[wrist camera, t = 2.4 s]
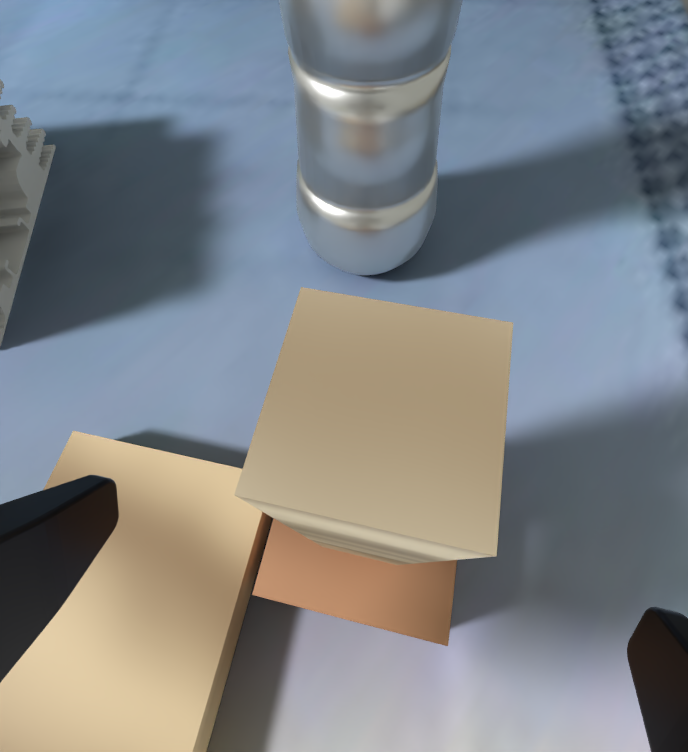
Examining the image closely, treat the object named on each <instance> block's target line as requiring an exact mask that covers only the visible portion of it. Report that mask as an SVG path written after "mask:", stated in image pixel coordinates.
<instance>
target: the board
mask: <svg viewBox="0 0 688 752" xmlns="http://www.w3.org/2000/svg"><path fill="white" fill-rule="evenodd" d="M241 472H242V469H241V468H236V467H232V466H228V465H223V464H219V463H214V462H210V461H205V460H201V459H196V458H192V457H188V456H183V455H179V454H174V453H170V452H165V451H161V450H156V449H152V448H148V447H143V446H139V445H134V444H130V443H125V442H121V441H116V440H112V439H108V438H103V437H99V436H94V435H90V434H85V433H81V432H76V431H73V432H72V434H71V436H70V438H69V440H68V442H67V444H66V446H65V448H64V450H63V452H62V454H61V456H60V458H59V460H58V462H57V464H56V466H55V468H54V470H53V472H52V474H51V476H50V478H49V480H48V482H47V484H46V486H45V488H44V490H46V489H48V488H51V487H54V486H57V485H60V484H63V483H66V482H69V481H72V480H75V479H78V478H81V477H84V476H87V475H98V476H103V477H107V478H111V479H112V480H114V481H115V483H116V486H117V498H118V509H119V518H118V522H117V525H116V527H115V529H114V531H113V532H112V534H111V535H110V537H109V538H108V540H107V541H106V543H105V544H104V546H103V547H102V549H101V550H100V552H99V553H98V555H97V556H96V557H95V559H94V560H93V562H92V563H91V565H90V566H89V568H88V569H87V571H86V572H85V574H84V575H83V577H82V578H81V580H80V581H79V582H78V584H77V585H76V587H75V588H74V590H73V591H72V593H71V594H70V596H69V597H68V598H67V600H66V601H65V603H64V604H63V605H62V607H61V608H60V610H59V611H58V612H57V613H56V615H55V616H54V617H53V619H52V620H51V621H50V622H49V624H48V625H47V626H46V627H45V629H44V630H43V631H42V632H41V634H40V635H39V636H38V637H37V638H36V640H35V641H34V642H33V643H32V645H31V646H30V647H29V648H28V649H27V651H26V652H25V653H24V654H23V656H22V657H21V658H20V659H19V661H18V662H17V663H16V664H15V665H14V667H13V668H12V669H11V670H10V672H9V673H8V674H7V675H6V676H5V678H4V679H3V680H2V681H1V683H0V752H206V751H207V748H208V744H209V741H210V737H211V734H212V730H213V727H214V723H215V719H216V716H217V712H218V709H219V705H220V702H221V698H222V694H223V691H224V687H225V684H226V680H227V677H228V673H229V670H230V666H231V662H232V659H233V655H234V652H235V648H236V645H237V641H238V637H239V634H240V630H241V627H242V623H243V620H244V616H245V612H246V609H247V605H248V602H249V598H250V595H251V591H252V588H253V584H254V580H255V577H256V573H257V570H258V566H259V563H260V559H261V555H262V552H263V548H264V545H265V541H266V538H267V534H268V531H269V527H270V523H271V520H272V517H271V516H269V515H267V514H266V513H264V512H262V511H261V510H259V509H257V508H255V507H254V506H252V505H250V504H249V503H247V502H245V501H243V500H242V499H240V498H238V497H237V496H235V495H234V494H235V491H236V488H237V485H238V482H239V478H240V475H241Z"/></svg>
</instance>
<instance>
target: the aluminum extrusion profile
mask: <svg viewBox="0 0 688 752" xmlns="http://www.w3.org/2000/svg"><path fill="white" fill-rule="evenodd" d="M2 88H4V84H3V82H2V81H1V80H0V94H2ZM0 99H1V97H0ZM14 114H16V109H15V107H14V106H13V105H5V106H0V346H1V343H2V339H3V336H4V332H5V328H6V325H7V321H8V318H9V314H10V310H11V307H12V303H13V300H14V296H15V292H16V289H17V285H18V282H19V278H20V274H21V271H22V267H23V264H24V260H25V256H26V253H27V249H28V246H29V242H30V238H31V235H32V231H33V228H34V224H35V220H36V217H37V213H38V210H39V206H40V202H41V199H42V195H43V192H44V188H45V184H46V181H47V177H48V174H49V170H50V167H51V163H52V159H53V156H54V152H55V149H56V146H55V145H45V146H43V142H44V141H45V140H44V137H45V136H46V133H45V131H44V130H43V129H33V130H30V126H31V125H32V122H31V120H30V119H29V118H28V117H26V118H16V119H15V117H14Z"/></svg>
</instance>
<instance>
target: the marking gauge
mask: <svg viewBox="0 0 688 752" xmlns="http://www.w3.org/2000/svg"><path fill="white" fill-rule="evenodd" d="M512 332H513V323H512V322H506V321H500V320H494V319H488V318H482V317H476V316H470V315H464V314H458V313H452V312H446V311H440V310H434V309H428V308H422V307H416V306H410V305H404V304H398V303H392V302H386V301H380V300H374V299H368V298H362V297H356V296H351V295H345V294H339V293H333V292H327V291H321V290H315V289H309V288H303V287H301V289H300V292H299V295H298V299H297V302H296V305H295V308H294V311H293V314H292V317H291V320H290V323H289V326H288V330H287V333H286V336H285V339H284V342H283V345H282V348H281V351H280V354H279V357H278V361H277V364H276V367H275V370H274V373H273V376H272V379H271V382H270V385H269V388H268V392H267V395H266V398H265V401H264V404H263V407H262V410H261V413H260V416H259V419H258V423H257V426H256V429H255V432H254V435H253V438H252V441H251V444H250V447H249V451H248V454H247V457H246V460H245V463H244V466H243V469H242V472H241V475H240V478H239V482H238V485H237V488H236V491H235V494H234V495H235V496H237V497H238V498H240V499H242V500H243V501H245V502H247V503H249V504H250V505H252V506H254V507H255V508H257V509H259V510H261V511H262V512H264V513H266V514H267V515H269V516H271V517H272V518H273V522H272V525H271V529H270V532H269V536H268V540H267V543H266V547H265V550H264V554H263V558H262V561H261V565H260V568H259V572H258V575H257V579H256V583H255V586H254V590H253V593H252V595H255V596H259V597H263V598H266V599H270V600H274V601H278V602H282V603H285V604H289V605H293V606H297V607H301V608H304V609H308V610H312V611H316V612H320V613H324V614H327V615H331V616H335V617H339V618H343V619H346V620H350V621H354V622H358V623H362V624H365V625H369V626H373V627H377V628H381V629H384V630H388V631H392V632H396V633H400V634H404V635H407V636H411V637H415V638H419V639H423V640H426V641H430V642H434V643H438V644H442V645H445V646H448V641H449V631H450V622H451V612H452V603H453V593H454V584H455V575H456V565H457V560H460V559H472V558H483V557H495V556H497V544H498V530H499V515H500V501H501V487H502V473H503V459H504V445H505V431H506V416H507V402H508V388H509V374H510V360H511V346H512Z"/></svg>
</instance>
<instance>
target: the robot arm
mask: <svg viewBox="0 0 688 752" xmlns="http://www.w3.org/2000/svg"><path fill="white" fill-rule="evenodd" d="M118 518H119V509H118V498H117V486H116V483H115V481H114V480H112V479H111V478H107V477H103V476H98V475H87V476H84V477H81V478H78V479H75V480H72V481H69V482H66V483H63V484H60V485H57V486H54V487H51V488H48V489H46V490H43V491H40V492H37V493H34V494H31V495H28V496H25V497H22V498H19V499H16V500H13V501H10V502H7V503H4V504H1V505H0V683H1V681H2V680H3V679H4V678H5V676H6V675H7V674H8V673H9V672H10V670H11V669H12V668H13V667H14V665H15V664H16V663H17V662H18V661H19V659H20V658H21V657H22V656H23V654H24V653H25V652H26V651H27V649H28V648H29V647H30V646H31V645H32V643H33V642H34V641H35V640H36V638H37V637H38V636H39V635H40V634H41V632H42V631H43V630H44V629H45V627H46V626H47V625H48V624H49V622H50V621H51V620H52V619H53V617H54V616H55V615H56V613H57V612H58V611H59V610H60V608H61V607H62V605H63V604H64V603H65V601H66V600H67V598H68V597H69V596H70V594H71V593H72V591H73V590H74V588H75V587H76V585H77V584H78V582H79V581H80V580H81V578H82V577H83V575H84V574H85V572H86V571H87V569H88V568H89V566H90V565H91V563H92V562H93V560H94V559H95V557H96V556H97V555H98V553H99V552H100V550H101V549H102V547H103V546H104V544H105V543H106V541H107V540H108V538H109V537H110V535H111V534H112V532H113V531H114V529H115V527H116V525H117V522H118ZM627 656H628V662H629V666H630V670H631V674H632V678H633V682H634V685H635V689H636V693H637V697H638V701H639V705H640V709H641V713H642V717H643V721H644V725H645V729H646V733H647V737H648V741H649V745H650V749H651V752H688V618H687V617H685V616H684V615H682V614H680V613H678V612H674V611H670V610H666V609H662V608H657V607H651V608H649V609H647V610H646V611H645V613H644V614H643V616H642V618H641V620H640V622H639V623H638V625H637V627H636V629H635V631H634V633H633V634H632V636H631V638H630V640H629V643H628V647H627Z"/></svg>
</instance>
